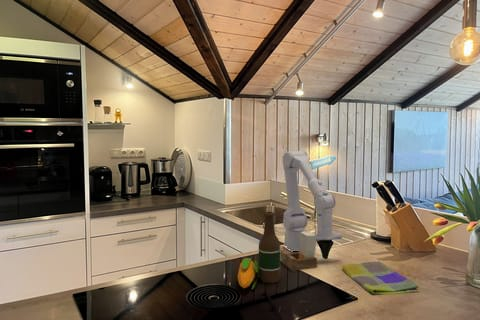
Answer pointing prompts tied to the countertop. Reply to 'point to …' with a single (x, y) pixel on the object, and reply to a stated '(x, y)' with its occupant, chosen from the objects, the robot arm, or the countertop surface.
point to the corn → (248, 273)
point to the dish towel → (379, 278)
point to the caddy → (297, 261)
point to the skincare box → (307, 245)
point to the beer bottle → (269, 252)
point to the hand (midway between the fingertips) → (325, 258)
